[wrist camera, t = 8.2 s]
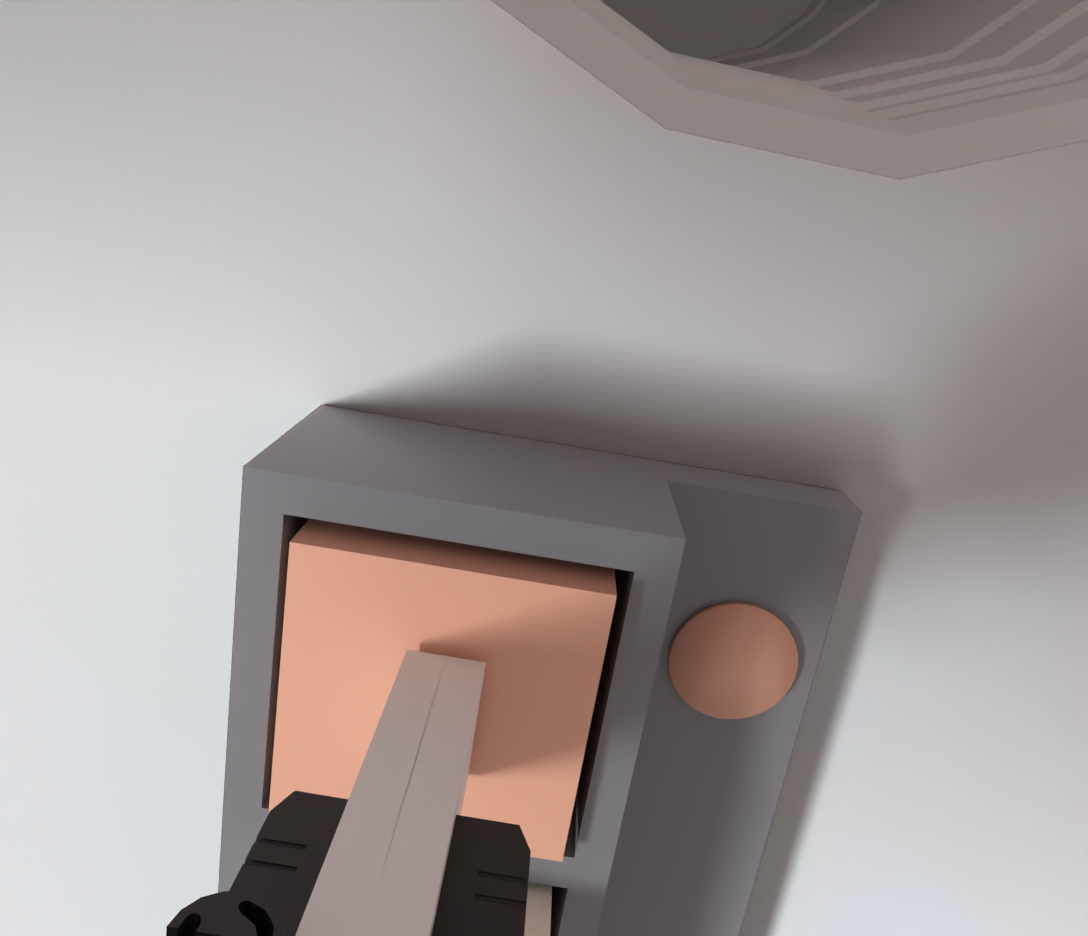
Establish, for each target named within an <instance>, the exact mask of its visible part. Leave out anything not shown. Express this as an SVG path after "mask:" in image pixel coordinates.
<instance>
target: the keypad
mask: <svg viewBox="0 0 1088 936" xmlns="http://www.w3.org/2000/svg"><path fill="white" fill-rule="evenodd" d="M860 517H861V512H860V510H859V509H858V508H857V507H856V506H855V505H854V504H853V503H852V502H851V501H850V499H849V498H848V497H847V496H846V495H845V494H844V493H843V492H842V491H838V490H832V489H826V488H820V487H814V486H808V485H802V484H796V483H790V482H784V481H778V480H772V479H766V478H760V477H754V476H747V475H741V474H735V473H729V472H723V471H717V470H711V469H705V468H699V467H693V466H687V465H681V464H675V463H669V462H663V461H657V460H651V459H645V458H639V457H633V456H627V455H621V454H615V453H609V452H603V451H597V450H591V449H585V448H579V447H573V446H567V445H561V444H555V443H549V442H543V441H537V440H531V439H525V438H519V437H513V436H507V435H501V434H495V433H489V432H483V431H477V430H471V429H465V428H459V427H453V426H447V425H441V424H435V423H429V422H423V421H417V420H410V419H404V418H398V417H392V416H386V415H380V414H374V413H368V412H362V411H356V410H350V409H344V408H338V407H332V406H326V405H320V406H319V407H318V408H317V409H315V410H314V411H313V412H311V413H310V414H309V415H308V416H306V417H305V418H304V419H303V420H301V421H300V422H299V423H298V424H296V425H295V426H294V427H292V428H291V429H290V430H289V431H287V432H286V433H285V434H284V435H282V436H281V437H280V438H279V439H277V440H276V441H275V442H273V443H272V444H271V445H270V446H268V447H267V448H266V449H265V450H263V451H262V452H261V453H260V454H258V455H257V456H256V457H254V458H253V459H252V460H251V461H249V462H248V463H247V464H246V465H244V466H243V477H242V494H241V511H240V528H239V545H238V562H237V579H236V596H235V613H234V630H233V647H232V664H231V681H230V698H229V715H228V732H227V749H226V766H225V783H224V800H223V817H222V834H221V851H220V868H219V885H218V893H219V892H223V891H229V890H230V888H231V886H232V884H233V882H234V880H235V878H236V876H237V874H238V873H239V871H240V869H241V867H242V865H243V864H244V863H245V859H246V857H247V855H248V853H249V851H250V849H251V847H252V845H253V843H254V842H256V838H257V835H258V833H259V832H260V830H261V828H262V826H263V824H264V822H265V820H266V818H267V816H268V813H269V800H270V787H271V775H272V762H273V749H274V736H275V723H276V711H277V698H278V685H279V672H280V659H281V646H282V634H283V621H284V608H285V595H286V582H287V570H288V557H289V544H290V541H291V540H292V539H293V537H294V536H295V535H296V534H297V533H298V532H299V530H300V529H301V528H302V527H303V526H304V524H305V523H306V522H307V521H308V520H309V519H316V520H322V521H328V522H334V523H340V524H346V525H352V526H358V527H365V528H371V529H377V530H383V531H389V532H395V533H401V534H407V535H413V536H419V537H425V538H431V539H437V540H444V541H450V542H456V543H462V544H468V545H474V546H480V547H486V548H492V549H498V550H504V551H510V552H516V553H522V554H529V555H535V556H541V557H547V558H553V559H559V560H565V561H571V562H577V563H583V564H589V565H595V566H601V567H608V568H614V570H615V581H616V591H617V598H616V603H615V608H614V613H613V617H612V622H611V627H610V632H609V637H608V642H607V647H606V651H605V656H604V661H603V666H602V671H601V676H600V681H599V685H598V690H597V695H596V700H595V705H594V710H593V715H592V719H591V724H590V729H589V734H588V739H587V744H586V749H585V753H584V758H583V763H582V768H581V773H580V778H579V783H578V787H577V792H576V797H575V802H574V807H573V812H572V817H571V821H570V826H569V831H568V836H567V841H566V846H565V851H564V855H563V860H562V862H559V861H553V860H547V859H541V858H535V857H530V867H529V879H528V882H530V883H537V884H543V885H549V886H552V902H551V928H550V936H739V933H740V929H741V926H742V922H743V919H744V916H745V912H746V909H747V905H748V902H749V898H750V895H751V891H752V888H753V885H754V881H755V878H756V874H757V871H758V867H759V864H760V861H761V857H762V854H763V850H764V847H765V843H766V840H767V836H768V833H769V830H770V826H771V823H772V819H773V816H774V812H775V809H776V806H777V802H778V799H779V795H780V792H781V788H782V785H783V781H784V778H785V775H786V771H787V768H788V764H789V761H790V757H791V754H792V751H793V747H794V744H795V740H796V737H797V733H798V730H799V726H800V723H801V720H802V716H803V713H804V709H805V706H806V702H807V699H808V696H809V692H810V689H811V685H812V682H813V678H814V675H815V671H816V668H817V665H818V661H819V658H820V654H821V651H822V647H823V644H824V641H825V637H826V634H827V630H828V627H829V623H830V620H831V616H832V613H833V610H834V606H835V603H836V599H837V596H838V592H839V589H840V586H841V582H842V579H843V575H844V572H845V568H846V565H847V561H848V558H849V555H850V551H851V548H852V544H853V541H854V537H855V534H856V531H857V527H858V524H859V520H860Z"/></svg>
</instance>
